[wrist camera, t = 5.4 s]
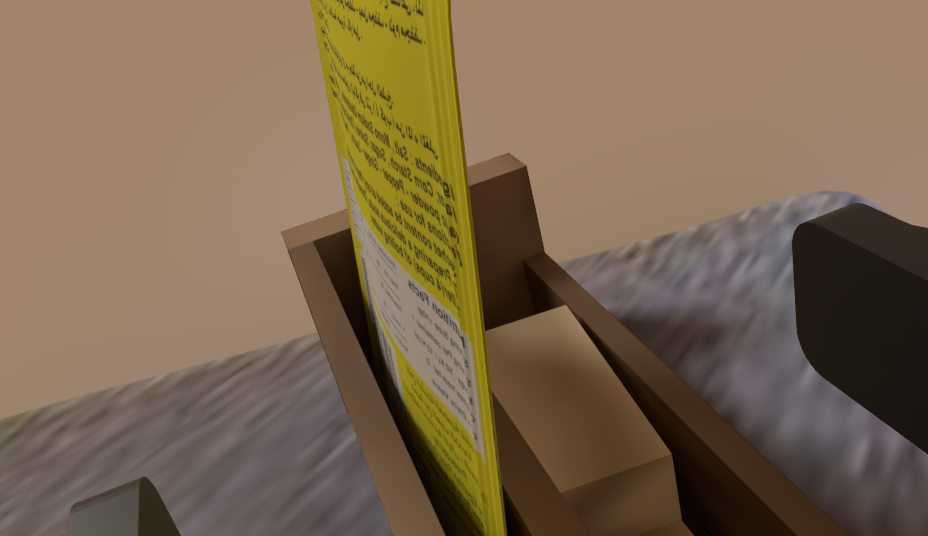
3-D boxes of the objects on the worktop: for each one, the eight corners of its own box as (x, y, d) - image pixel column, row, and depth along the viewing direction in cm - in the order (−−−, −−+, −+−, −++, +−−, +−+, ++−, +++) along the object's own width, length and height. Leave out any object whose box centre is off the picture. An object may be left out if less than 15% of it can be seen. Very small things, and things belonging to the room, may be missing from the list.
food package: (553, 779, 21) (472, -95, 13) (511, 795, 21) (398, -84, 12) (401, 435, 35) (311, -104, 26) (374, 442, 34) (274, -99, 26)
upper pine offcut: (551, 565, 24) (534, 501, 23) (478, 392, 32) (462, 338, 31) (682, 519, 25) (671, 453, 24) (577, 359, 33) (566, 305, 32)
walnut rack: (505, 840, 20) (420, 610, 16) (338, 388, 38) (280, 231, 35) (865, 658, 22) (860, 414, 18) (543, 310, 40) (509, 152, 37)
